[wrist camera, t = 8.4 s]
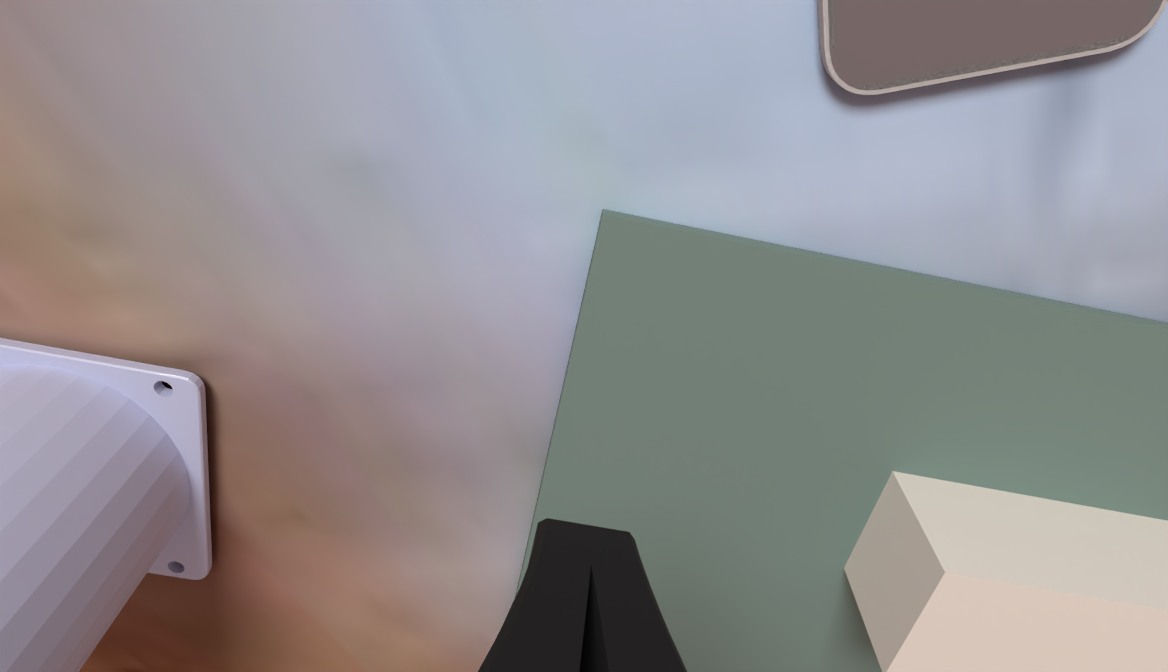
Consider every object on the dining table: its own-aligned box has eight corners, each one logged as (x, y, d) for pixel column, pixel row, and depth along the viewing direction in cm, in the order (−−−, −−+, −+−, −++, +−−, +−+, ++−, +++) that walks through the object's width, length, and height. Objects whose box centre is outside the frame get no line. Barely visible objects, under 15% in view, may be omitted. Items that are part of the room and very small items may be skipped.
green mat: (506, 635, 27) (505, 645, 27) (602, 209, 20) (602, 214, 19) (1089, 726, 29) (1095, 736, 29) (1384, 366, 21) (1397, 374, 21)
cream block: (884, 676, 21) (1217, 729, 22) (944, 572, 19) (1307, 634, 20) (843, 568, 25) (1133, 616, 26) (892, 471, 23) (1203, 527, 24)
